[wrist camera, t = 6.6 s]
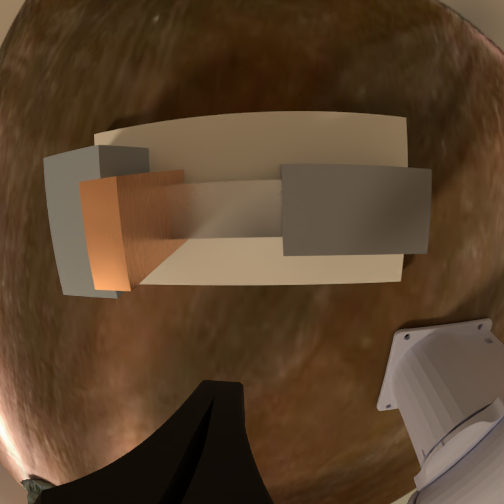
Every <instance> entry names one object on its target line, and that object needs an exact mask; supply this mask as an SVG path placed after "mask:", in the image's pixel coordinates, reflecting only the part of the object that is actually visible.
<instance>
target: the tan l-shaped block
mask: <svg viewBox="0 0 504 504" xmlns="http://www.w3.org/2000/svg"><path fill="white" fill-rule="evenodd" d="M79 187H80V198H81V207H82V215H83V223H84V230H85V237H86V244H87V250H88V255H89V261H90V266H91V272H92V277H93V281H94V286H95V290H113V291H132V290H133V289H134V288H135V287H136V286H137V285H138V284H139V283H140V282H142V281H143V280H144V279H145V278H146V277H147V276H148V275H149V274H150V273H151V272H153V271H154V270H155V269H156V268H157V267H158V266H159V265H160V264H161V263H163V262H164V261H165V260H166V259H167V258H168V257H169V256H170V255H171V254H173V253H174V252H175V251H176V250H177V249H178V248H179V247H181V246H182V245H183V244H184V243H185V242H186V241H187V240H189V239H208V238H254V237H283V212H282V177H281V178H247V179H225V180H207V181H192V182H185V180H184V170H171V171H160V172H150V173H140V174H131V175H122V176H115V177H107V178H101V179H94V180H88V181H82V182H79Z"/></svg>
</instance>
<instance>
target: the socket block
mask: <svg viewBox="0 0 504 504" xmlns="http://www.w3.org/2000/svg"><path fill="white" fill-rule="evenodd" d="M140 173H150V168H149V150H148V148H141V147H128V146H112V145H95V146H91V147H86V148H82V149H77V150H73V151H69V152H65V153H61V154H57V155H53V156H50V157H46V158H44V175H45V188H46V198H47V207H48V215H49V222H50V229H51V236H52V242H53V247H54V253H55V258H56V263H57V268H58V272H59V277H60V281H61V286H62V290H63V294H64V295H74V296H87V297H103V298H119V297H120V296H121V295H122V294H123V293H124V292H125V291H113V290H95V286H94V281H93V277H92V272H91V266H90V261H89V255H88V250H87V244H86V237H85V230H84V223H83V215H82V207H81V198H80V187H79V182H82V181H88V180H94V179H101V178H107V177H115V176H122V175H131V174H140Z"/></svg>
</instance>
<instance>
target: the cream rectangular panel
mask: <svg viewBox="0 0 504 504" xmlns="http://www.w3.org/2000/svg"><path fill="white" fill-rule="evenodd" d="M94 139H95V145H112V146H128V147H141V148H148V150H149V168H150V172H160V171H171V170H184V180H185V182H192V181H207V180H225V179H247V178H281V177H282V212H283V237H254V238H208V239H189V240H187V241H186V242H185V243H184V244H183V245H182V246H181V247H179V248H178V249H177V250H176V251H175V252H174V253H173V254H171V255H170V256H169V257H168V258H167V259H166V260H165V261H164V262H163V263H161V264H160V265H159V266H158V267H157V268H156V269H155V270H154V271H153V272H151V273H150V274H149V275H148V276H147V277H146V278H145V279H144V280H143V281H142V282H140V283H139V284H163V285H302V284H344V283H373V282H397V281H401V274H402V266H403V256H404V254H427V249H428V239H429V228H430V214H431V193H432V169H423V168H410V167H408V149H407V125H406V118H405V117H397V116H387V115H377V114H364V113H348V112H323V111H276V112H251V113H234V114H221V115H210V116H201V117H192V118H183V119H176V120H169V121H162V122H155V123H149V124H143V125H137V126H132V127H127V128H122V129H117V130H112V131H107V132H103V133H98V134H94Z"/></svg>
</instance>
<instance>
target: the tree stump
mask: <svg viewBox="0 0 504 504" xmlns="http://www.w3.org/2000/svg"><path fill="white" fill-rule="evenodd" d="M20 483H21V484H23V486H24V488H25V489H26V490H27V491H28V496H27V498H28V504H33V503H34V502H35V500H36V498H37V497H38V495H39V494H40V493H41V491H42V490H45V489H49V488H52V487H56V486H54V485H53V484H51V483H49V482H47V481H44V480H38V479H35V480H32V479H26V480H22V482H20Z"/></svg>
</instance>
